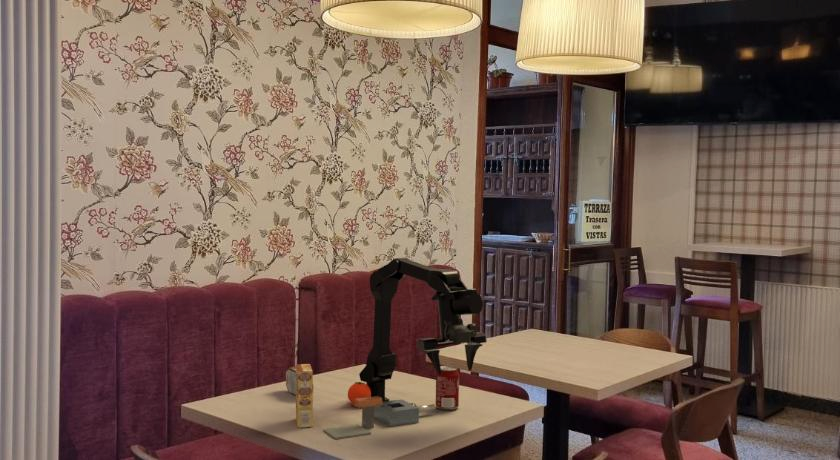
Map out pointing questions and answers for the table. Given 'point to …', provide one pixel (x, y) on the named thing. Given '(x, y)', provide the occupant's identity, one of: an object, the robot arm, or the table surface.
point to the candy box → (304, 395)
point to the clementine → (358, 391)
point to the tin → (291, 380)
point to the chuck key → (368, 409)
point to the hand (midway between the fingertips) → (454, 372)
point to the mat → (346, 431)
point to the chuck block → (399, 412)
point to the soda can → (447, 388)
